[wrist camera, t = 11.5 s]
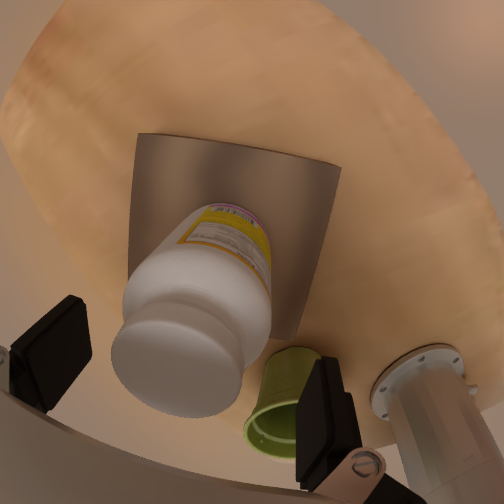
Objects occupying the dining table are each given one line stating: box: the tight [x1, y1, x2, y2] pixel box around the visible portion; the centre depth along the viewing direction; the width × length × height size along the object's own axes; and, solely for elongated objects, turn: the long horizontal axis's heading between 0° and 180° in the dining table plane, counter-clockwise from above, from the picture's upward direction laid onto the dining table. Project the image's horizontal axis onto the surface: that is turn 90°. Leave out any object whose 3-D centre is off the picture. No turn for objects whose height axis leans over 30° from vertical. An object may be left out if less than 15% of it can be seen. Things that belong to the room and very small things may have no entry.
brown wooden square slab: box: [128, 133, 341, 341], centre depth 23 cm, size 14×14×4 cm
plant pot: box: [243, 347, 321, 460], centre depth 25 cm, size 9×9×9 cm
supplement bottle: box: [111, 203, 272, 418], centre depth 15 cm, size 7×7×13 cm
